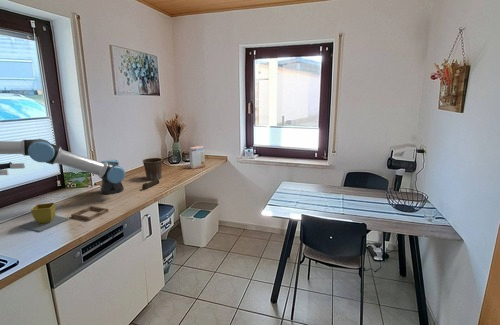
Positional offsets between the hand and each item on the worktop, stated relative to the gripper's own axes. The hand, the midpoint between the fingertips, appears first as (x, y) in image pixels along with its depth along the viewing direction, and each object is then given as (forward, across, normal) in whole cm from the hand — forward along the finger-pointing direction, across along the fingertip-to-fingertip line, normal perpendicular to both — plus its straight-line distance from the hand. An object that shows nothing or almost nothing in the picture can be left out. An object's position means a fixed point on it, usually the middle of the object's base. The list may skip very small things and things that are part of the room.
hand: (16, 168), depth 142 cm
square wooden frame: (+31, -5, -30) cm, 43 cm away
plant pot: (+56, -77, -30) cm, 100 cm away
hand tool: (+57, -53, -30) cm, 83 cm away
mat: (+11, +4, -30) cm, 32 cm away
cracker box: (+93, -108, -30) cm, 146 cm away
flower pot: (+11, +3, -30) cm, 32 cm away
